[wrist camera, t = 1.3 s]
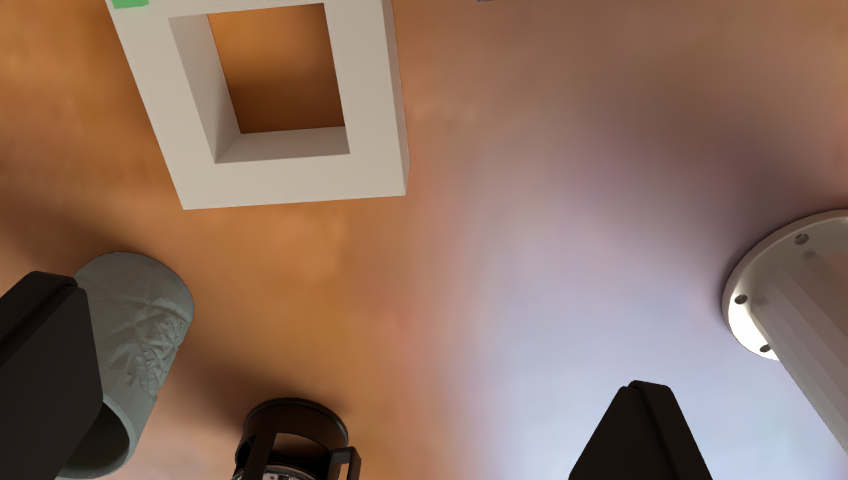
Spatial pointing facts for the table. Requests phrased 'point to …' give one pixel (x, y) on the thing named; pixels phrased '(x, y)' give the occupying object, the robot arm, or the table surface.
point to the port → (267, 151)
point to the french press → (278, 476)
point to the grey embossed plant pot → (128, 352)
